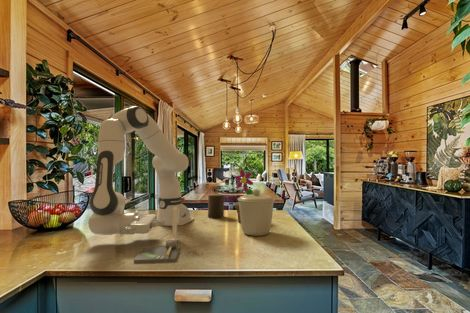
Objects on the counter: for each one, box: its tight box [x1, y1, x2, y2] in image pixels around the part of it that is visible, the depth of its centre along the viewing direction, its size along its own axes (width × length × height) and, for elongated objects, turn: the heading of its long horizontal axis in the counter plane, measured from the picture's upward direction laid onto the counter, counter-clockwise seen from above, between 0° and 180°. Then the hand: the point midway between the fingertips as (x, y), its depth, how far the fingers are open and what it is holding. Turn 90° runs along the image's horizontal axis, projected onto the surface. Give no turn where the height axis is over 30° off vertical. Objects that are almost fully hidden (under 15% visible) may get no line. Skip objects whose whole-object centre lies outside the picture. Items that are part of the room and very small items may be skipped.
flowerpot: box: [234, 169, 254, 224], centre depth 155 cm, size 14×14×30 cm
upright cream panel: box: [165, 206, 178, 257], centre depth 108 cm, size 26×4×13 cm, turn 6°
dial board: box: [133, 245, 181, 264], centre depth 100 cm, size 14×14×1 cm
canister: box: [236, 188, 276, 237], centre depth 131 cm, size 18×18×21 cm
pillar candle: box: [207, 193, 225, 219], centre depth 168 cm, size 10×10×15 cm
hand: (164, 222), depth 117 cm, fingers closed
